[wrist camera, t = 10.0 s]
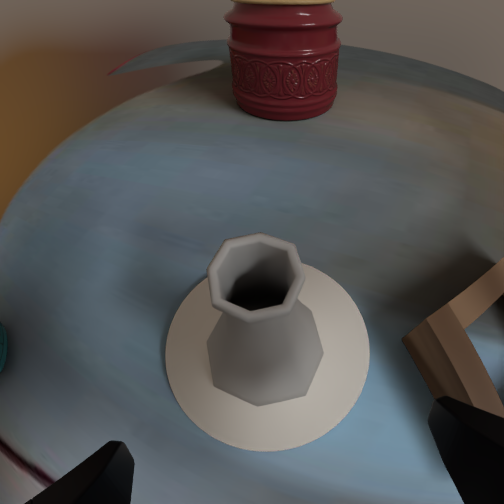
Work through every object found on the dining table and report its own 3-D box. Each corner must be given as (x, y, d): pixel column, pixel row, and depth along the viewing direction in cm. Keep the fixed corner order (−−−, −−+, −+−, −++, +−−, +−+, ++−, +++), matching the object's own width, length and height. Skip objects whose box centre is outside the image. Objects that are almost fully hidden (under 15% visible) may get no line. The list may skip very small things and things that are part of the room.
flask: (197, 398, 17) (122, 365, 8) (216, 292, 20) (177, 186, 12) (319, 411, 16) (368, 394, 7) (325, 300, 20) (359, 196, 11)
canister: (238, 77, 39) (226, -33, 24) (327, 78, 38) (332, -32, 23) (228, 124, 32) (207, -25, 17) (343, 125, 31) (358, -24, 16)
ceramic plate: (211, 478, 14) (208, 480, 14) (148, 303, 21) (144, 299, 21) (399, 390, 17) (403, 388, 16) (309, 239, 23) (310, 232, 23)
